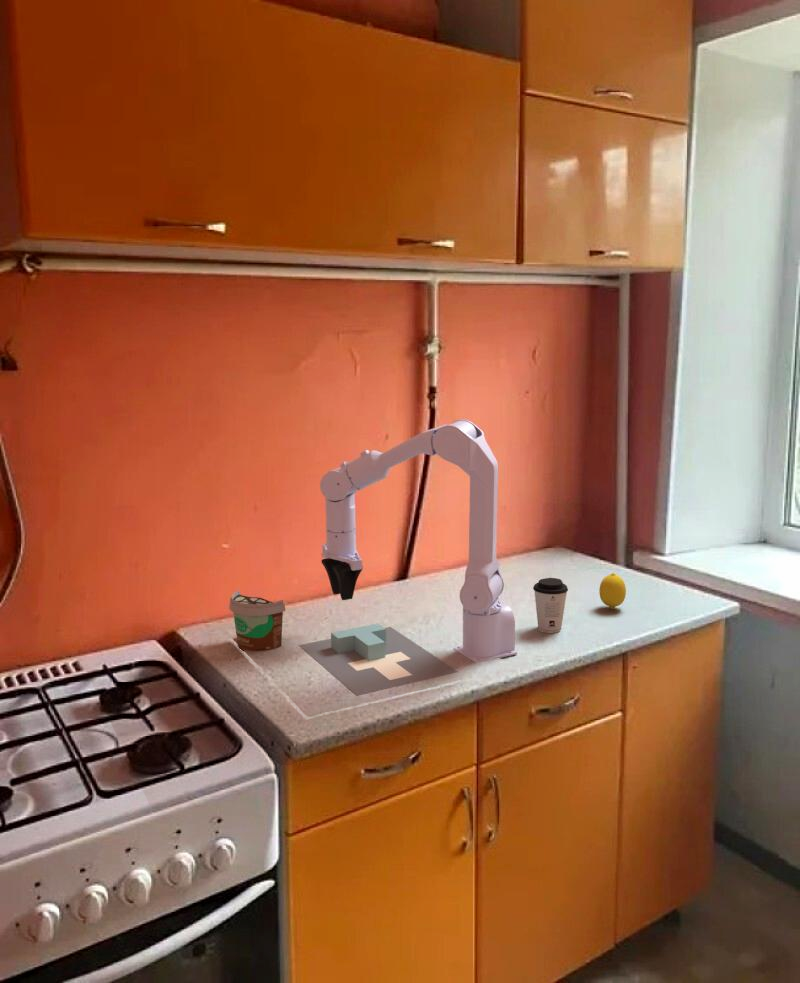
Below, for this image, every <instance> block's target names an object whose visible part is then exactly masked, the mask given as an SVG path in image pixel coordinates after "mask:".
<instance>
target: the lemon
mask: <svg viewBox="0 0 800 983" xmlns="http://www.w3.org/2000/svg"><path fill="white" fill-rule="evenodd" d="M626 595H627V587H626V582H625V581H624V579H623V578H622V577H621V576H620V575H618V574H616V573H613V572H611V574H608V575H606V576H604V577H603V578H602V580H601V582H600V585H599V597H600V601H601V602H602V603H603V604H604V605H605V606H607V607H608V608H609V609H611V610H614V609H615V608H616V607H619V606H620V605H621V604H623V602H624V601H625V599H626Z"/></svg>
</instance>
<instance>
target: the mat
mask: <svg viewBox="0 0 800 983" xmlns="http://www.w3.org/2000/svg"><path fill="white" fill-rule="evenodd" d="M384 628H385V629H386V644H385V658H380V659H376V660H371V661H368V660H366V659H365V658H364V657H363V656H361V655H360V654H359V653H357V652H356V651H355V650H353V651H349V652H344V653H338V652H336V651H335V650H334V649H333V648H331V638H328V639H322V640H317V641H313V642H312V641H311V642H307V643H302V644H299V645H298V647H300V648H301V649H302V650H303V651H305V652H306V653H307V654H308V655H309V656H310V657H312V659H314V661H316V662H317V663H318V664H319V665H320V666H322V667H323V668H324V669H325V670H326V671H327V672H329V673H330V674H331V675H332V676H333V677H334V678H336V679H337V680H338V681H339V682H340V683H341V684H342V685H344V686H345V687H346V688H347V689H348V690H349V691H351V693H353V694H354V695H355V696H360V695H361V696H362V695H365V694H369V693H374V692H378V691H383V690H386V689H390V688H391V689H392V688H395V687H400V686H404V685H408V684H412V683H416V682H421V681H425V680H430V679H433V678H437V677H441V676H447V675H451V674H455V673H458V670H456V669H455V668H453V667H452V666H450V665H449V664H447V663H446V662H444V661H443V660H441V659H439V658H438V657H437V656H436V655H434V654H432V653H431V652H429V651H428V650H426V649H425V648H423V647H422V646H420V644H418V643H416V642H414V641H412V640H411V639H409V638H408V637H407V636H405V635H404V634H402V633H401V632H399V631H398V630H396V629H395V628H393V627H392V626H388V627H384Z"/></svg>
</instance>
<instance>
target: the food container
mask: <svg viewBox="0 0 800 983" xmlns="http://www.w3.org/2000/svg"><path fill="white" fill-rule="evenodd" d="M228 608H229V610H230V611H231V612H232V614H233V620H234V627H235V628H234V629H235V633H236V640H237V642H236V643H237V647H238V648H239V650H240V649H241V651H242V652H244V651H251V652H261V651H262V652H263V651H264V652H265V651H270V650H275V649H278V648H280V647H282V638H283V615H284V612H285V611H286V606H285V603H284V600H283V599H281V600H279V601H275V602H272V601H269V600H268V599H265V598H263V597H255V596H254V597H253V596H248V595H247V596H246V595H243V594H242V595H241V590H237V591H235V592H233V594H232V595H231V598H230V600H229V606H228Z"/></svg>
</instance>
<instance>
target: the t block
mask: <svg viewBox="0 0 800 983" xmlns="http://www.w3.org/2000/svg"><path fill="white" fill-rule="evenodd" d="M385 628H386V627H383V626H382V625H380V624H379V623H373V624H367V625H364V626H357V627H352V628H347V629H343V630H338V631H333V632H332V631H331V632H330V639H331V648H333V649H334V650H335V651H336V652H338V653H344V652H349V651H353V650H355V651H356V652H357V653H359V654H360V655H361V656H363V657H364V658H365V659H366V660H368V661H371V660H376V659H380V658H385V644H386V629H385Z"/></svg>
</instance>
